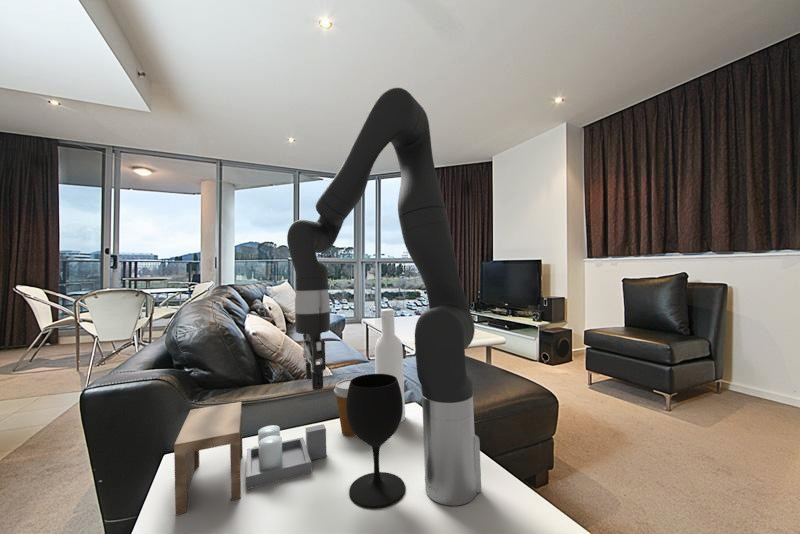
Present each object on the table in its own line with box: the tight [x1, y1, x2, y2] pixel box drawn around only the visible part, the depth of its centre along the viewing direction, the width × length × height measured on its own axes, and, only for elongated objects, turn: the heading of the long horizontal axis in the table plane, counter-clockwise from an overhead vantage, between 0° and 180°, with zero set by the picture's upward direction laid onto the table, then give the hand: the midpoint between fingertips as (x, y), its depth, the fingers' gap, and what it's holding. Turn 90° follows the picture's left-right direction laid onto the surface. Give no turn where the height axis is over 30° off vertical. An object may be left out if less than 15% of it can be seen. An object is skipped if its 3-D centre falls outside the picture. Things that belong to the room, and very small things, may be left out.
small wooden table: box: [173, 401, 244, 516], centre depth 68 cm, size 10×17×12 cm, turn 23°
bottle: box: [374, 308, 406, 424], centre depth 95 cm, size 8×8×30 cm
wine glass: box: [346, 373, 406, 510], centre depth 64 cm, size 10×10×20 cm
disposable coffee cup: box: [333, 378, 357, 437], centre depth 89 cm, size 10×10×12 cm
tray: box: [245, 424, 327, 490], centre depth 74 cm, size 16×12×7 cm
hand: (314, 383), depth 77 cm, fingers open, 8 cm apart
